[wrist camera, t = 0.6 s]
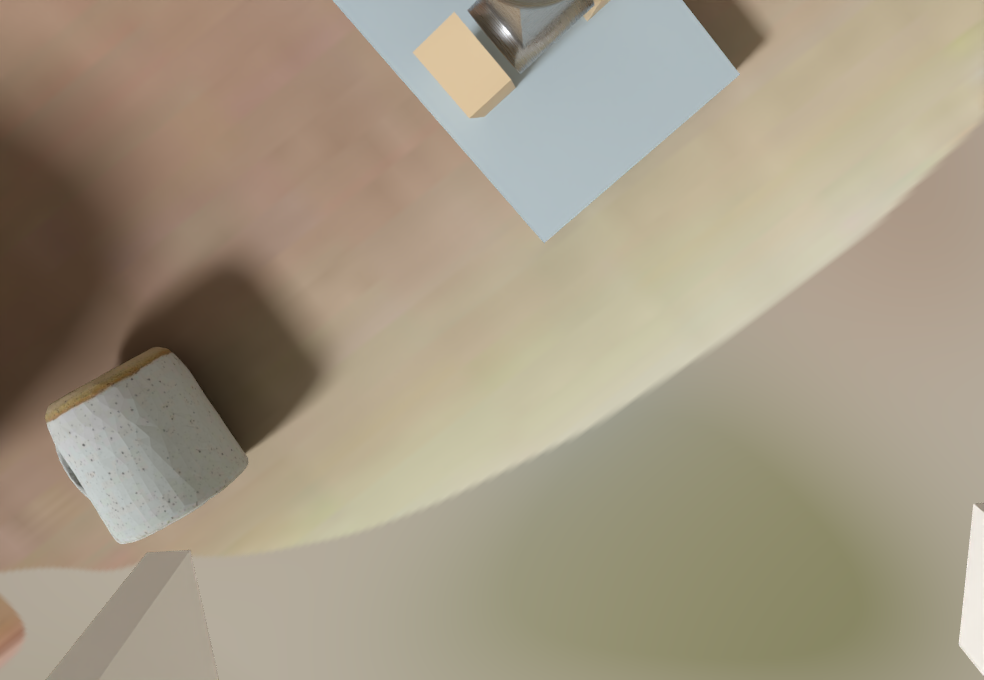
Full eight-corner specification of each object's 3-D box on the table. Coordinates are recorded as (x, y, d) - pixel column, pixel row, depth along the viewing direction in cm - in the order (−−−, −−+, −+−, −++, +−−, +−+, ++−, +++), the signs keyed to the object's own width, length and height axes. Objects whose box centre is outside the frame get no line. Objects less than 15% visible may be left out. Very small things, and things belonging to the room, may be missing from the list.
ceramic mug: (187, 322, 44) (115, 366, 37) (269, 443, 46) (217, 508, 38) (40, 408, 46) (-56, 466, 39) (125, 521, 48) (49, 597, 40)
